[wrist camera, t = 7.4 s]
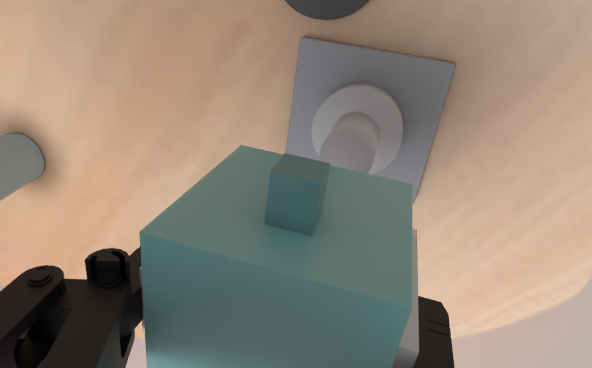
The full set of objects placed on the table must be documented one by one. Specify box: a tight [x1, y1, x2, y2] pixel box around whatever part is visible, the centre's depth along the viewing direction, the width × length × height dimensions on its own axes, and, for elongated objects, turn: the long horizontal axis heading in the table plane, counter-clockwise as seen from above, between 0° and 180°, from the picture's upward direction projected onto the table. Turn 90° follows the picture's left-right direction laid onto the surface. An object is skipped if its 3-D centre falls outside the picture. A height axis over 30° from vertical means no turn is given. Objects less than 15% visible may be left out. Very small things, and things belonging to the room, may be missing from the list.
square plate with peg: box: [286, 36, 456, 204], centre depth 30 cm, size 12×12×9 cm
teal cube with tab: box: [140, 145, 412, 368], centre depth 14 cm, size 9×7×7 cm
